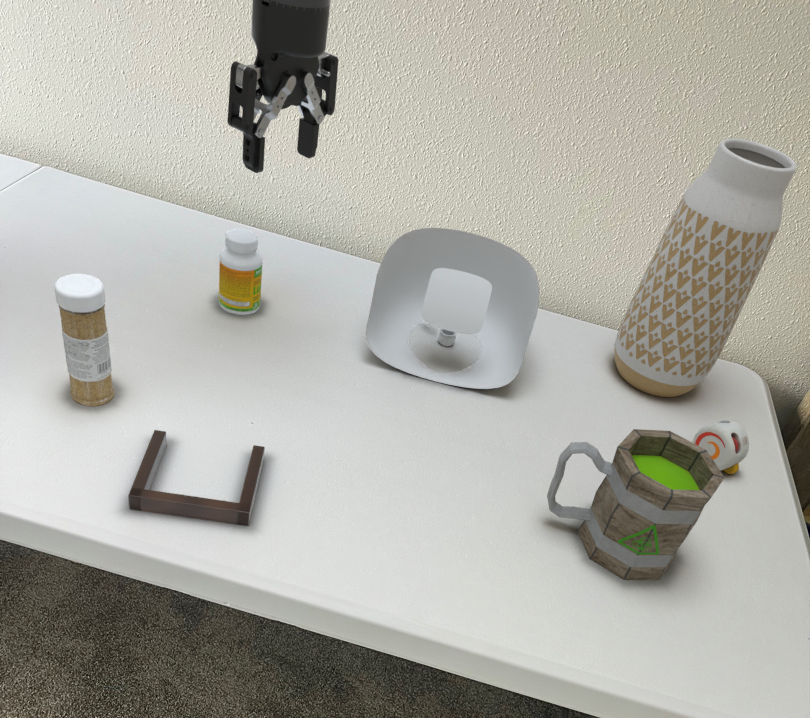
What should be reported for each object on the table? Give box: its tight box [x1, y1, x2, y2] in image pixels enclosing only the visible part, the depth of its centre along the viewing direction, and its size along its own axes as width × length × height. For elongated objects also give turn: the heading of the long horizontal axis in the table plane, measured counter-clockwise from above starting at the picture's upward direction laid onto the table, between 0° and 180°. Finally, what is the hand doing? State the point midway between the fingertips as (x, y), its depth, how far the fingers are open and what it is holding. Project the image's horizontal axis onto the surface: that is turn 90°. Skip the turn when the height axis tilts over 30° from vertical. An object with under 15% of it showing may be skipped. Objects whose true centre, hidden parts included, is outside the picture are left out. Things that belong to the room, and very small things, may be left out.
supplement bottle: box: [218, 228, 263, 316], centre depth 101 cm, size 5×5×10 cm
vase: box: [613, 137, 797, 398], centre depth 100 cm, size 14×14×31 cm
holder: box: [127, 429, 266, 527], centre depth 79 cm, size 11×10×2 cm
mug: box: [546, 428, 725, 581], centre depth 81 cm, size 16×11×12 cm
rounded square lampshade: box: [365, 227, 540, 390], centre depth 103 cm, size 20×19×12 cm
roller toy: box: [691, 419, 750, 475], centre depth 97 cm, size 4×6×6 cm
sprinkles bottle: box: [53, 273, 115, 407], centre depth 81 cm, size 5×5×13 cm
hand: (280, 162), depth 88 cm, fingers open, 8 cm apart
